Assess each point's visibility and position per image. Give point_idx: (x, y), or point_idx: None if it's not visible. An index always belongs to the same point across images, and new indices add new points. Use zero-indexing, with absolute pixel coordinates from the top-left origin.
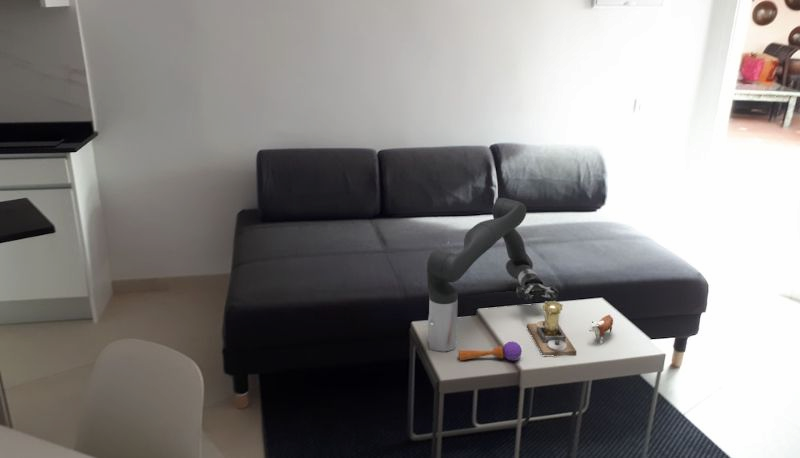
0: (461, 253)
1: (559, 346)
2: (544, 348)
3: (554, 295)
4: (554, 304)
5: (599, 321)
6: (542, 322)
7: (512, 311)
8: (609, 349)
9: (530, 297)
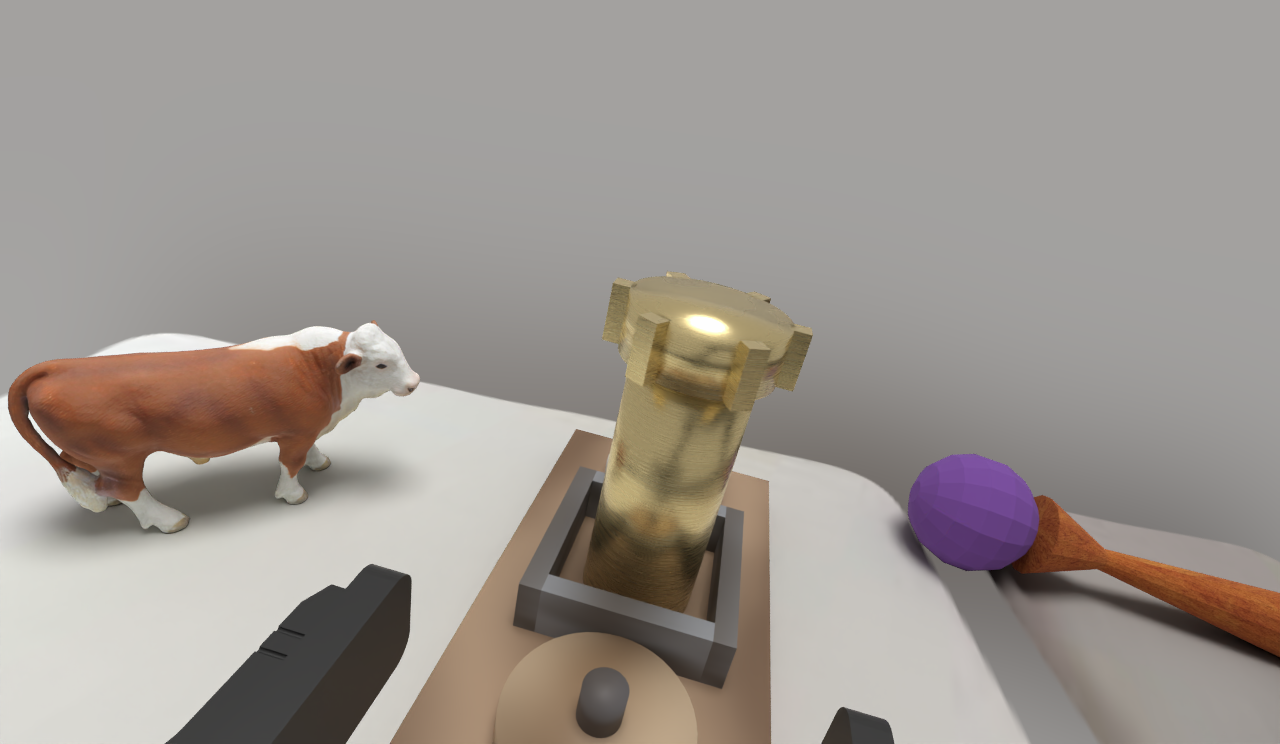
0: None
1: None
2: (747, 501)
3: (272, 665)
4: (693, 301)
5: (284, 348)
6: None
7: None
8: (343, 419)
9: (872, 722)
